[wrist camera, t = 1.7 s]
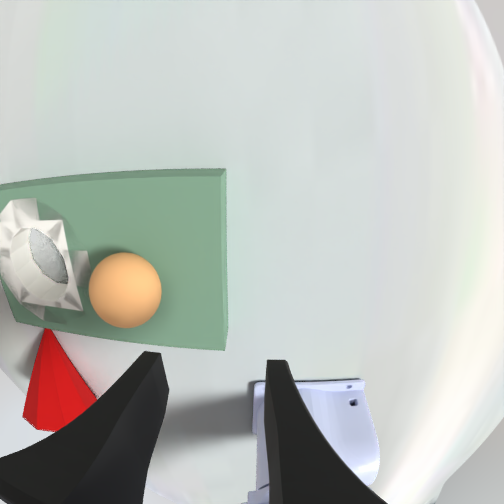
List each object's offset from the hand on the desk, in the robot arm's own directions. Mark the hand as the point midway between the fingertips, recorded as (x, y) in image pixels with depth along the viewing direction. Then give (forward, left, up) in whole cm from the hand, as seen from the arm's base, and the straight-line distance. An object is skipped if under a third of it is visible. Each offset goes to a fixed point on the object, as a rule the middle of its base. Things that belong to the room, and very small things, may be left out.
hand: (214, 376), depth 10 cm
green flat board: (+10, 0, -10) cm, 14 cm away
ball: (+6, 0, -5) cm, 8 cm away
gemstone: (+18, +13, -10) cm, 24 cm away
